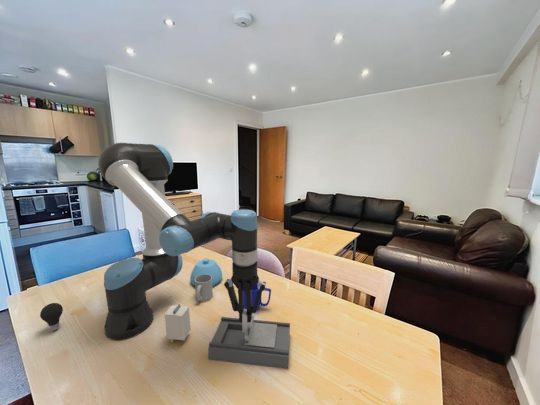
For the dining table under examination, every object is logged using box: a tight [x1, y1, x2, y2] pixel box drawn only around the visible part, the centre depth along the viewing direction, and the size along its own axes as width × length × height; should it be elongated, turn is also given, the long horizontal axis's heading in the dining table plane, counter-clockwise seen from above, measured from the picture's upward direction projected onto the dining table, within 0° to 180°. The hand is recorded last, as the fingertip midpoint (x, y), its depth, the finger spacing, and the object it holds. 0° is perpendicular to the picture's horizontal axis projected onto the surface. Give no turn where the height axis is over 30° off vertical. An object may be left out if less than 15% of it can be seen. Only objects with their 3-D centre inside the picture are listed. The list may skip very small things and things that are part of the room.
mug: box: [244, 284, 272, 311], centre depth 91 cm, size 8×12×10 cm
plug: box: [164, 303, 191, 344], centre depth 75 cm, size 6×4×12 cm
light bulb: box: [39, 302, 64, 332], centre depth 78 cm, size 6×6×10 cm
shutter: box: [245, 315, 277, 349], centre depth 72 cm, size 9×10×4 cm
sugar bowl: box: [190, 258, 223, 287], centre depth 111 cm, size 15×15×12 cm
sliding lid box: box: [207, 316, 291, 369], centre depth 73 cm, size 24×13×5 cm, turn 83°
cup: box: [194, 274, 214, 303], centre depth 97 cm, size 7×10×9 cm
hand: (245, 329), depth 72 cm, fingers closed
